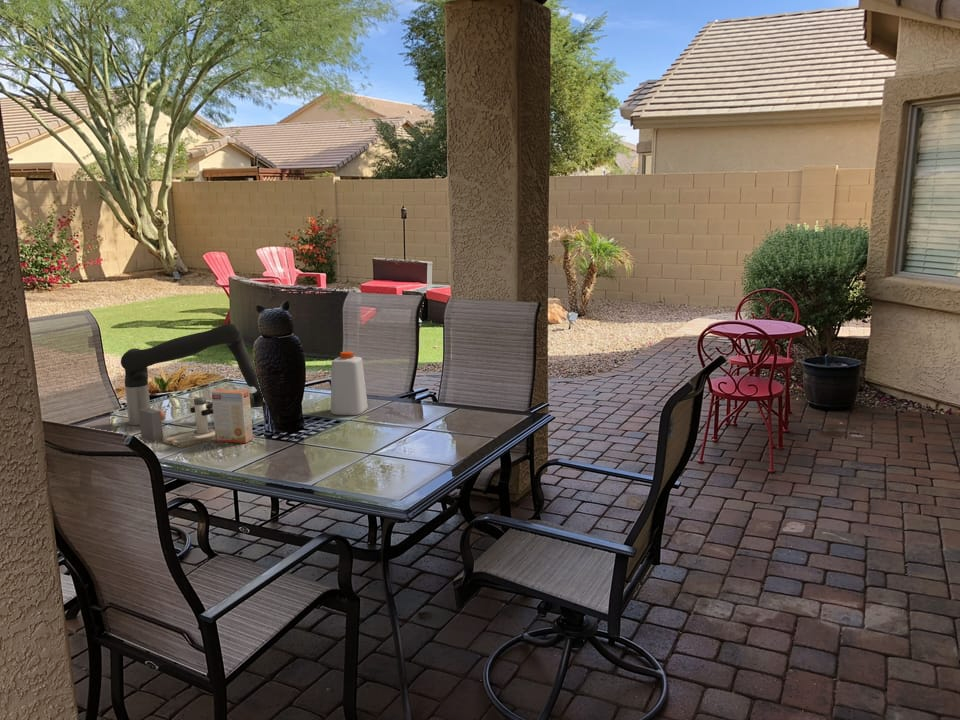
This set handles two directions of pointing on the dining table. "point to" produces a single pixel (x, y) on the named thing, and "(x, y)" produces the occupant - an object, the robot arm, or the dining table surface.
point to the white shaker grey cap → (200, 415)
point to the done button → (162, 415)
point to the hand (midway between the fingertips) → (196, 411)
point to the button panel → (150, 424)
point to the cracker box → (232, 416)
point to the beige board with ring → (190, 438)
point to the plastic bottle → (348, 385)
